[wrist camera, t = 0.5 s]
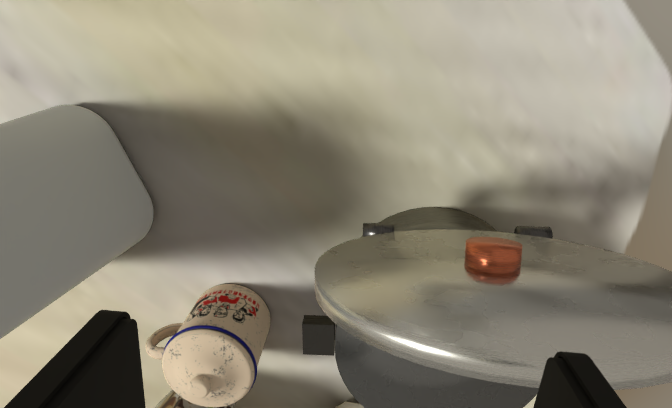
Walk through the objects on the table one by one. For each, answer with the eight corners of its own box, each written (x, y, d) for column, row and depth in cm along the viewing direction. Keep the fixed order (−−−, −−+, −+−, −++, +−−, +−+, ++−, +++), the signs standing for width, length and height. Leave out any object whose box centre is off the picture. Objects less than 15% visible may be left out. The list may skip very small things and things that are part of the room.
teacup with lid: (272, 281, 49) (245, 350, 38) (274, 351, 52) (251, 433, 41) (164, 277, 50) (107, 344, 39) (173, 346, 53) (123, 426, 42)
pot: (311, 186, 45) (296, 225, 35) (565, 190, 44) (624, 232, 34) (315, 359, 52) (303, 432, 42) (533, 367, 51) (575, 445, 41)
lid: (328, 241, 36) (328, 208, 35) (585, 247, 35) (588, 213, 34) (287, 379, 16) (287, 308, 16) (875, 402, 15) (892, 327, 15)
